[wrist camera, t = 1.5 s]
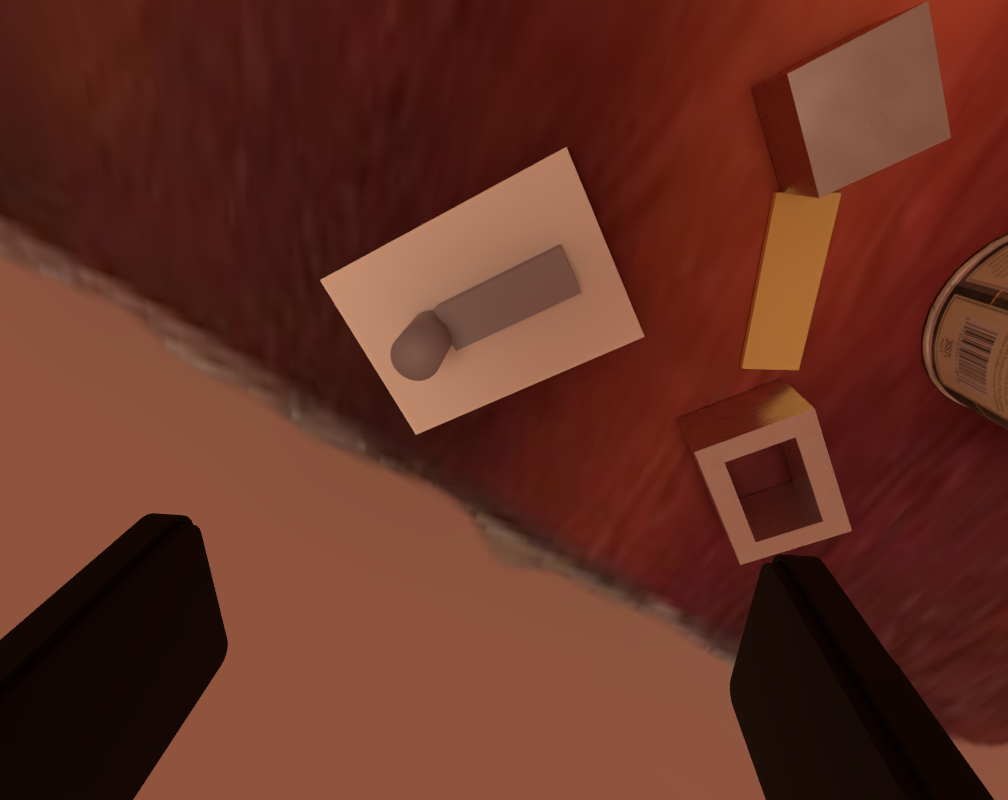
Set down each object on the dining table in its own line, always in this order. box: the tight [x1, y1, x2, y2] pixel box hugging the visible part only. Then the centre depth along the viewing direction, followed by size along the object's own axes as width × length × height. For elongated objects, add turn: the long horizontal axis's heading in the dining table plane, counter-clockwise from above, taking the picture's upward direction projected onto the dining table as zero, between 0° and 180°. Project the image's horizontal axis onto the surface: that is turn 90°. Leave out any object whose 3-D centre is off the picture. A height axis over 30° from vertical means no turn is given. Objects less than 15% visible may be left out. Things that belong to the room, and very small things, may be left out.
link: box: [677, 378, 852, 565], centre depth 30 cm, size 6×8×4 cm
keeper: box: [320, 147, 645, 434], centre depth 27 cm, size 14×10×6 cm
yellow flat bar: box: [740, 192, 842, 370], centre depth 27 cm, size 9×3×1 cm, turn 0°
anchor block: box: [751, 1, 951, 198], centre depth 23 cm, size 5×5×4 cm
